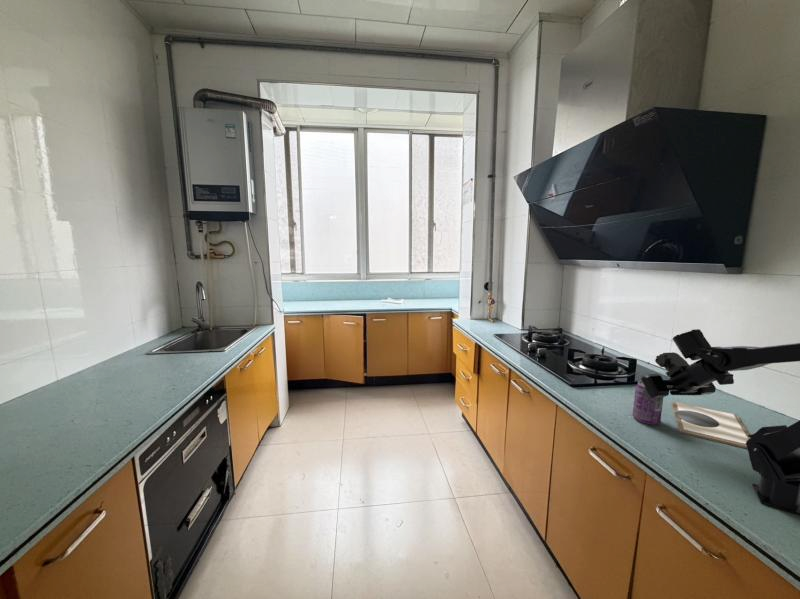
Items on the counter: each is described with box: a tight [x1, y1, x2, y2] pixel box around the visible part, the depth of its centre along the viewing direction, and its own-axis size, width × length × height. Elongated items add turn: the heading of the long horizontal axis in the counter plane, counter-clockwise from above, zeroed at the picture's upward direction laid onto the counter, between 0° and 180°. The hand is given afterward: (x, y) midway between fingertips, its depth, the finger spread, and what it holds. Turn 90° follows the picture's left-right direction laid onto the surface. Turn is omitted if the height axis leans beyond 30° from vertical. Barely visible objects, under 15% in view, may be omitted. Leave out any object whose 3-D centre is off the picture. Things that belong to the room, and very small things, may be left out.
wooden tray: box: [671, 401, 750, 449], centre depth 100 cm, size 22×16×1 cm
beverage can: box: [632, 380, 664, 425], centre depth 102 cm, size 7×7×12 cm
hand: (657, 394), depth 98 cm, fingers open, 9 cm apart
